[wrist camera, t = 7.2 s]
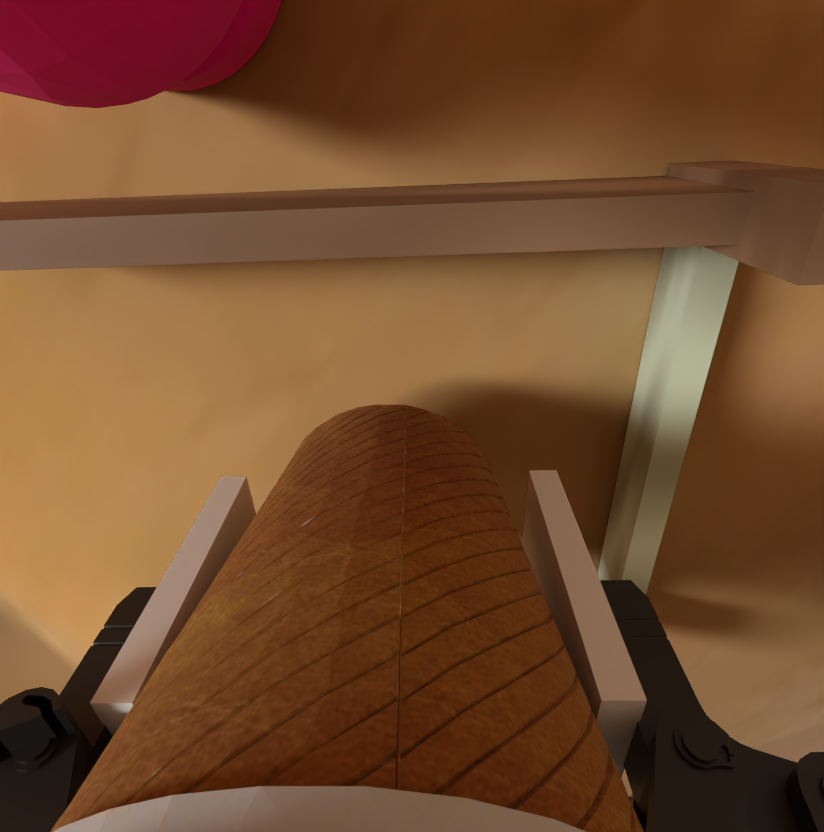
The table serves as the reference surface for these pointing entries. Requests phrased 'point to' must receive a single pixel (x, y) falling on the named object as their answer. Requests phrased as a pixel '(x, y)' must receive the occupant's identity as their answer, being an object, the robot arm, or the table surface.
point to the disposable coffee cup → (365, 665)
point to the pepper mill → (125, 47)
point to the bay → (499, 233)
